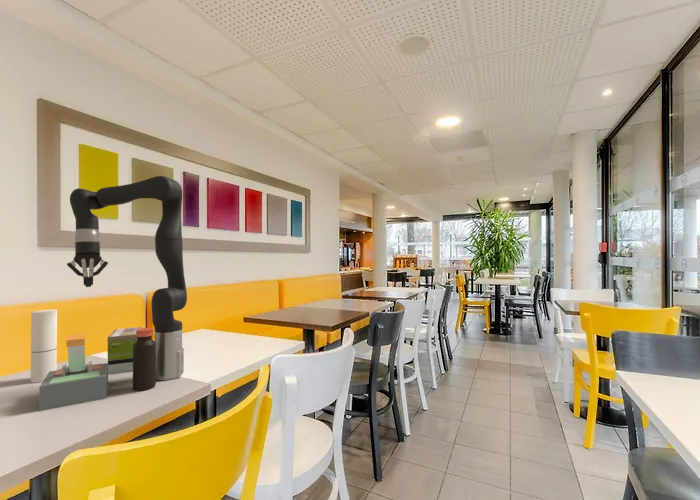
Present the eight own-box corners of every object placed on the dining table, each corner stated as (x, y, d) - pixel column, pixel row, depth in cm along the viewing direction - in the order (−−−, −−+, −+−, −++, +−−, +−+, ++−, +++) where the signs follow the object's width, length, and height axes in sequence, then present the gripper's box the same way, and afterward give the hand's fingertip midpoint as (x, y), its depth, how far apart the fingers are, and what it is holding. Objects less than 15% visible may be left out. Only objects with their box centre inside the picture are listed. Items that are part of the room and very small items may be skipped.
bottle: (157, 387, 117) (158, 329, 117) (135, 393, 112) (135, 332, 113) (152, 382, 122) (153, 326, 122) (130, 387, 117) (131, 329, 118)
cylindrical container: (54, 374, 131) (54, 309, 131) (58, 378, 126) (59, 310, 126) (28, 379, 125) (29, 311, 125) (32, 384, 121) (33, 313, 121)
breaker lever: (87, 368, 114) (86, 333, 109) (86, 373, 112) (85, 338, 107) (68, 370, 111) (66, 335, 107) (67, 376, 109) (65, 340, 105)
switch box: (108, 382, 122) (108, 354, 122) (106, 398, 109) (106, 366, 109) (49, 392, 113) (49, 362, 113) (39, 410, 100) (39, 376, 100)
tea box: (114, 363, 144) (115, 328, 144) (142, 360, 148) (142, 326, 148) (106, 374, 130) (107, 336, 130) (137, 371, 134) (137, 333, 134)
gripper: (63, 240, 124) (64, 288, 123) (108, 240, 131) (109, 285, 130) (66, 242, 130) (67, 288, 129) (109, 242, 137) (110, 285, 136)
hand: (88, 286), depth 129 cm, fingers closed
